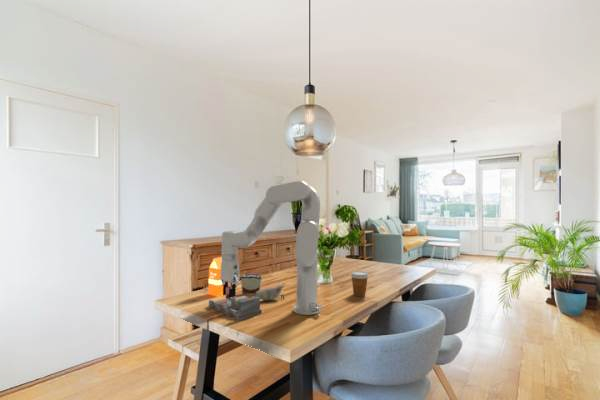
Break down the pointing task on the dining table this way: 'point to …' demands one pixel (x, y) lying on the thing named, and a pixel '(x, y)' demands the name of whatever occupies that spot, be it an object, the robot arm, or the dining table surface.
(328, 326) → the dining table surface
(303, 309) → the robot arm
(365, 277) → the disposable coffee cup
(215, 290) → the orange juice
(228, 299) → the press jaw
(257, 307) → the nut press
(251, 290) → the food container
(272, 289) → the decorative bird
